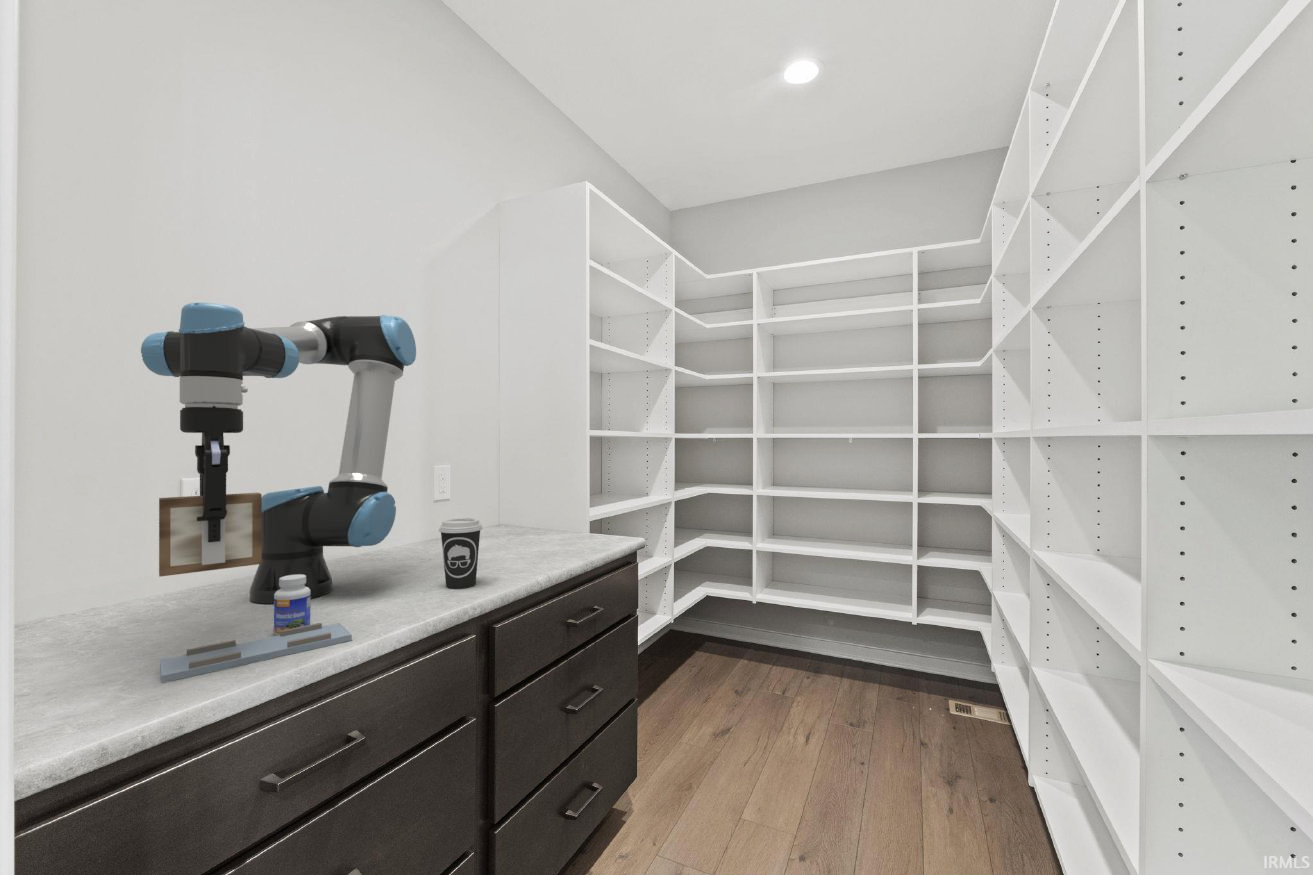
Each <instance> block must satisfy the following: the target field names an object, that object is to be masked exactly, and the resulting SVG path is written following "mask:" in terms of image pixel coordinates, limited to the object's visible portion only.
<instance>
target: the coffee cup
mask: <svg viewBox="0 0 1313 875" xmlns="http://www.w3.org/2000/svg"><path fill="white" fill-rule="evenodd" d="M438 528H439V529H438V532H439V533H440V536H441V547H442V555H443V556H442V558H443V566H444V567H443V568H444V578H445V588H447V589H450V590H451V589H453V590H461V589H468V588H472V587H474V586H476V585H477V584H476V583H477V574H478V573H477V572H478V560H479V549H480V540H481V539H480V537H481V531H482V530H483V525H482V524H481V523H480V520H479V519H478V518H473V517H472V518H470V517H460V518H450V519H449V518H448V519H445V520H443V521H442V523H441V525H440V526H439V527H438Z"/></svg>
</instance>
